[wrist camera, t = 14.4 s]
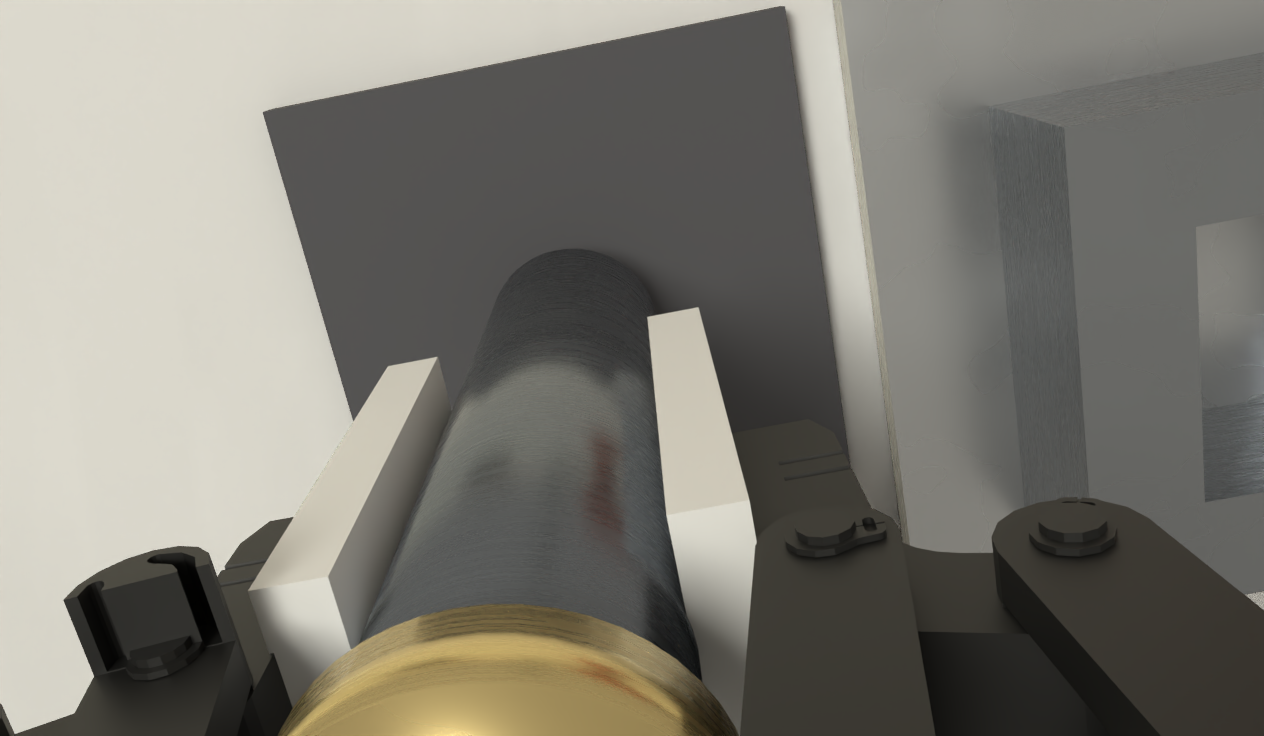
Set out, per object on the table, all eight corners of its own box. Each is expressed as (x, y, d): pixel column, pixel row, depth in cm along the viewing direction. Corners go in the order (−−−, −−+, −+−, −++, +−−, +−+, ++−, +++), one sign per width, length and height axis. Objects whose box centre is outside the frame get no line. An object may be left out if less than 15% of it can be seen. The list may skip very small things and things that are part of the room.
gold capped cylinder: (499, 438, 22) (309, 1159, 8) (454, 253, 21) (143, 740, 7) (688, 403, 22) (810, 1081, 8) (653, 214, 21) (724, 638, 7)
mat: (402, 560, 25) (397, 573, 24) (272, 109, 22) (262, 112, 21) (848, 479, 24) (853, 490, 24) (780, 6, 21) (784, 6, 20)
